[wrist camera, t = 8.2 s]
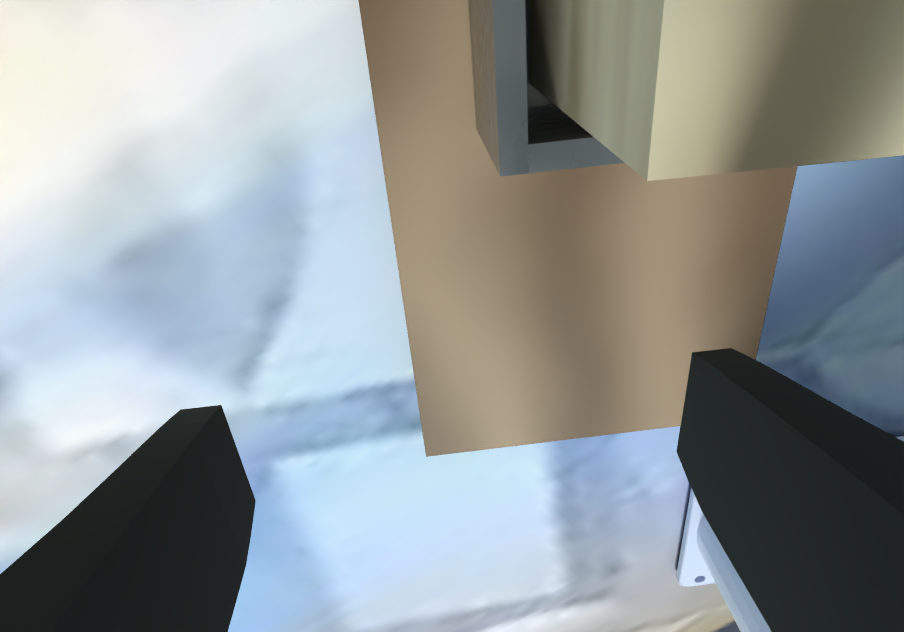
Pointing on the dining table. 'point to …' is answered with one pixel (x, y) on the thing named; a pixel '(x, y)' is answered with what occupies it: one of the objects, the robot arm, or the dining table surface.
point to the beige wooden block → (725, 80)
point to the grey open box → (520, 99)
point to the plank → (551, 260)
